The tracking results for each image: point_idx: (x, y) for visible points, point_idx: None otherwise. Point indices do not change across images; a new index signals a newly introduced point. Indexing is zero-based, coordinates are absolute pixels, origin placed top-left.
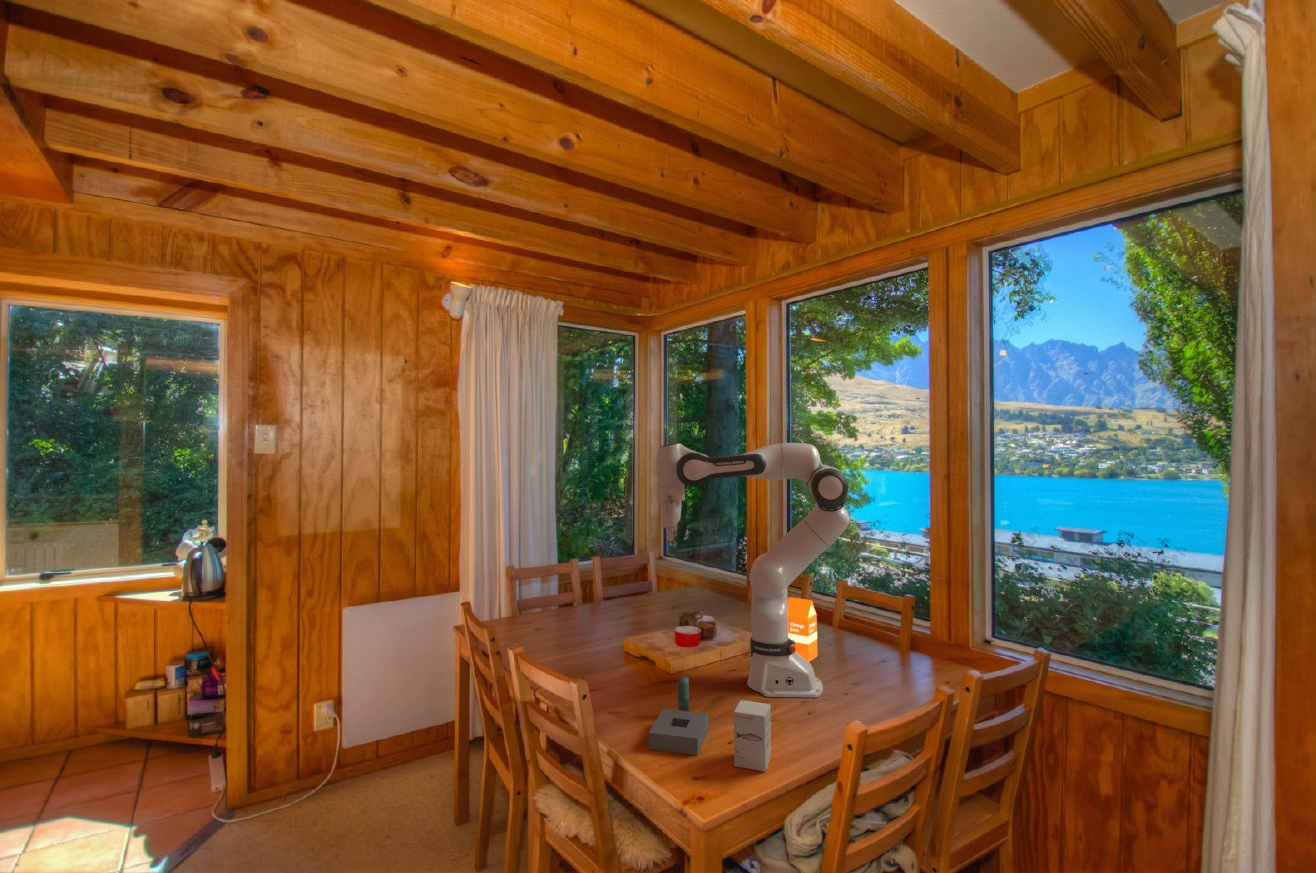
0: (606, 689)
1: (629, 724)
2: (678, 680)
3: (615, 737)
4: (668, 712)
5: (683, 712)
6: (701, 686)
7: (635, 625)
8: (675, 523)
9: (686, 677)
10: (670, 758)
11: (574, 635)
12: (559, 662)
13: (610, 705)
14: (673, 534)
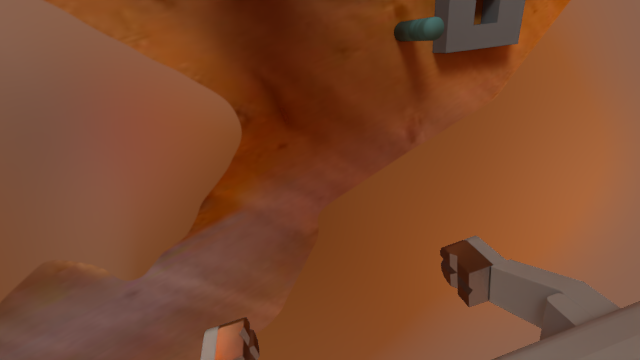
0: (344, 182)
1: (440, 99)
2: (440, 35)
3: (475, 99)
4: (457, 39)
5: (454, 14)
6: (280, 41)
7: (15, 301)
8: (637, 336)
9: (427, 23)
10: None
11: (152, 343)
12: (275, 289)
13: (392, 150)
14: (249, 344)
